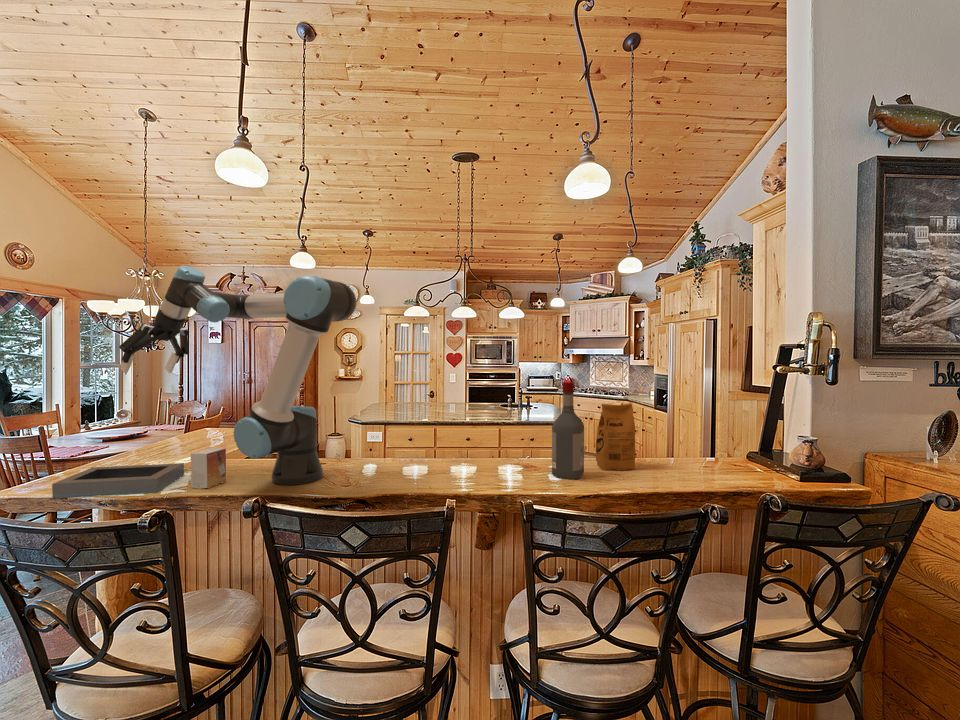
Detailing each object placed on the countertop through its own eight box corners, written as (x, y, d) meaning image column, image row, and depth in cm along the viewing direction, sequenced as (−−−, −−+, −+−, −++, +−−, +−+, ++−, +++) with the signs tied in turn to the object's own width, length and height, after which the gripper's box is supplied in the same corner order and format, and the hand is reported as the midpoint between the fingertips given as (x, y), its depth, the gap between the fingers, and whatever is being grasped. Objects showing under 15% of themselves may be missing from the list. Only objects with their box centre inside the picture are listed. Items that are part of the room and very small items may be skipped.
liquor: (585, 473, 153) (585, 382, 152) (578, 480, 145) (579, 384, 144) (557, 470, 157) (558, 381, 156) (550, 477, 148) (550, 383, 147)
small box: (207, 489, 137) (206, 453, 137) (190, 488, 138) (189, 453, 138) (227, 481, 145) (226, 447, 145) (211, 480, 146) (210, 447, 146)
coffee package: (593, 463, 166) (593, 401, 165) (628, 463, 166) (629, 401, 165) (600, 471, 156) (601, 405, 155) (638, 471, 156) (638, 405, 155)
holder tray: (184, 475, 152) (183, 463, 152) (157, 492, 134) (156, 478, 134) (93, 479, 147) (92, 467, 147) (52, 498, 129) (52, 483, 129)
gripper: (203, 312, 157) (178, 364, 161) (122, 301, 134) (96, 363, 138) (216, 323, 155) (190, 376, 159) (136, 315, 132) (109, 377, 136)
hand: (146, 370), depth 148 cm, fingers open, 13 cm apart
